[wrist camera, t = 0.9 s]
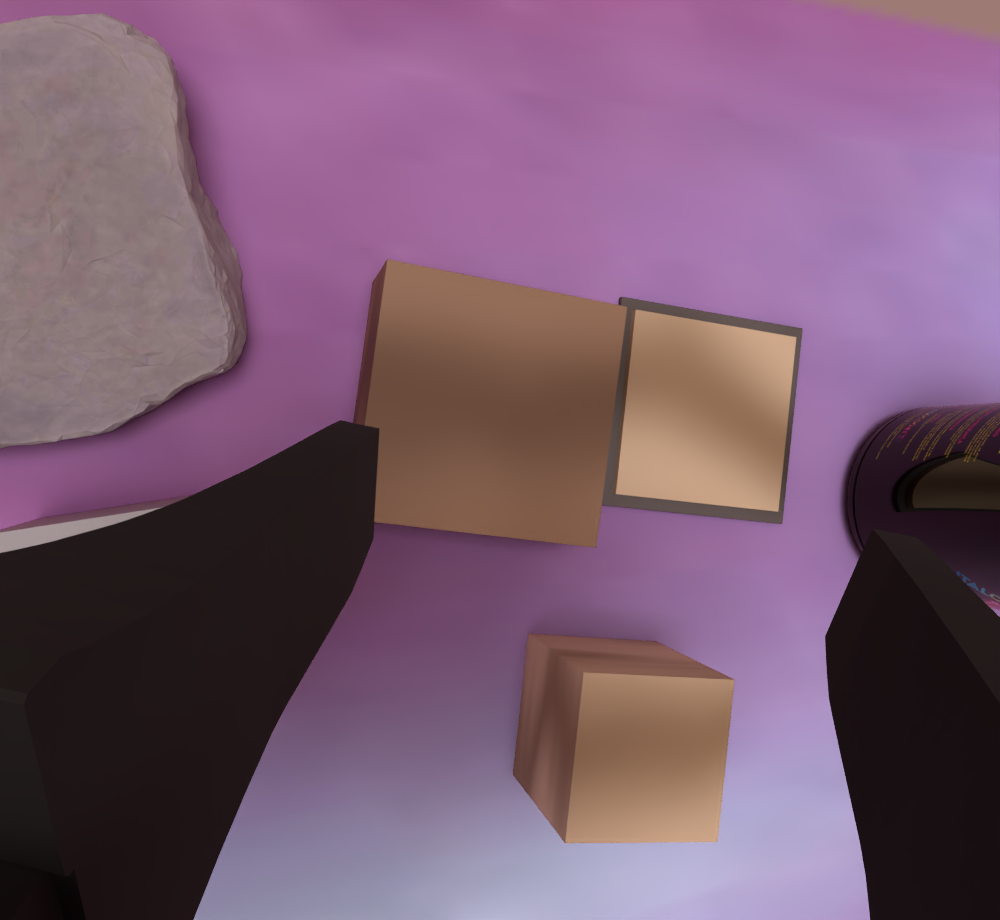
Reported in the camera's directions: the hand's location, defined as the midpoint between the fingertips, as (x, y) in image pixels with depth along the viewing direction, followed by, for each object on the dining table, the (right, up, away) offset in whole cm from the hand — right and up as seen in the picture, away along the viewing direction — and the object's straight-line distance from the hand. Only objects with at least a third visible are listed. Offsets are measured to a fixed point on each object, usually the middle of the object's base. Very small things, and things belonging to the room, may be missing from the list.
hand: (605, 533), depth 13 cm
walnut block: (-3, +3, +14) cm, 15 cm away
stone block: (-15, +6, +11) cm, 20 cm away
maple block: (+1, -7, +15) cm, 17 cm away
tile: (+5, +3, +16) cm, 17 cm away
